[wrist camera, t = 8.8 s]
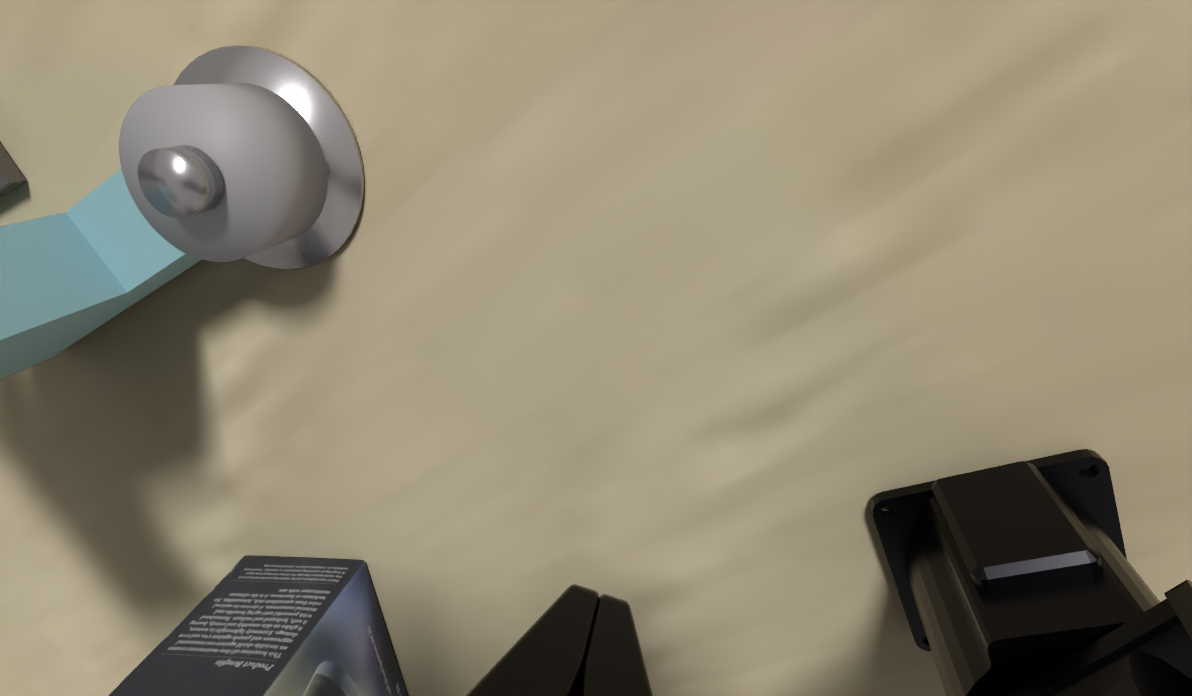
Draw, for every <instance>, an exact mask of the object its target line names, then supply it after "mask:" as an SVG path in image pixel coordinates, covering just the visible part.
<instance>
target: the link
mask: <svg viewBox="0 0 1192 696" xmlns="http://www.w3.org/2000/svg"><path fill="white" fill-rule="evenodd" d="M180 145H190V146H194V147H196V148H198V149H200V150H202V151H203V152H205V153H206V154H207V155H208V156H209V157H210V158H211V159H212V160H213V161H214V162H215V164H216V166H217V167H218V169H219V171H220V173H221V176H222V180H223V187H224V190H223V197H222V200H221V201H220V203H219V204H218V206H217V207H216V208H214V209H212V210H210V211H207V212H203V213H199V214H196V215H192V216H189V217H185V218H172V217H168V216H166V215H164V214H162V213H160V212H159V211H158V210H156V209H155V208H154V207H153V206H152V205H151V204H150V203H149V202H148V200H147V199H146V197H145V196H144V194H143V192H142V190H141V187H140V185H139V181H138V165H139V162H140V159H141V158H142V156H143V155H144V154H145V153H147V152H148V151H150V150H154V149H160V148H167V147H173V146H180ZM119 155H120V163H121V168H122V169H120V170H119V171H118V172H117V173H115V174H114V175H113V176H111V177H110V178H109V179H108V180H106V181H105V182H104V183H103V184H101V185H100V186H99V187H97V188H96V189H95V190H94V191H92V192H91V193H90V194H89V195H87V196H86V197H85V198H83V199H82V200H81V201H80V202H78V203H77V204H76V205H74V206H73V207H72V208H71V209H69V210H68V211H67V212H65V213H60V214H56V215H51V216H47V217H42V218H38V219H33V220H29V221H24V222H19V223H15V224H10V225H6V226H1V227H0V379H2V378H5V377H7V376H9V375H12V374H14V373H16V372H19V371H21V370H23V369H26V368H28V367H30V366H33V365H35V364H37V363H40V362H42V361H44V360H47V359H49V358H51V357H54V356H55V355H57V354H58V353H60V352H61V351H63V350H64V349H66V348H67V347H69V346H70V345H72V344H74V343H75V342H77V341H78V340H80V339H81V338H83V337H84V336H86V335H87V334H89V333H90V332H92V331H93V330H95V329H96V328H98V327H100V326H101V325H103V324H104V323H106V322H107V321H109V320H110V319H112V318H113V317H115V316H116V315H118V314H119V313H121V312H122V311H124V310H126V309H127V308H129V307H130V306H132V305H133V304H135V303H136V302H138V301H139V300H141V299H142V298H144V297H145V296H147V295H148V294H150V293H152V292H153V291H155V290H156V289H158V288H159V287H161V286H162V285H164V284H165V283H167V282H168V281H170V280H171V279H173V278H174V277H176V276H178V275H179V274H181V273H182V272H184V271H185V270H187V269H188V268H190V267H191V266H193V265H194V264H196V263H197V262H199V261H200V260H206V261H212V262H230V261H235V260H239V259H242V258H244V257H247V256H250V255H252V254H255V253H257V252H260V251H262V250H265V249H267V248H270V247H273V246H275V245H278V244H280V243H283V242H285V241H288V240H290V239H293V238H295V237H297V236H299V235H301V234H303V233H304V232H306V231H307V230H308V229H310V227H311V226H312V225H313V224H314V223H315V222H316V220H317V219H318V217H319V216H320V214H321V212H322V210H323V207H324V204H325V200H326V195H327V184H328V179H327V169H326V164H325V159H324V156H323V153H322V149H321V147H320V145H319V142H318V140H317V138H316V136H315V134H314V132H313V131H312V129H311V127H310V126H309V124H308V123H307V122H306V120H305V119H304V118H303V116H302V115H301V114H300V113H299V112H298V111H297V110H296V109H295V108H294V107H293V106H292V105H291V104H290V103H289V102H287V101H286V100H285V99H283V98H282V97H281V96H279V95H278V94H276V93H274V92H272V91H270V90H268V89H266V88H263V87H261V86H257V85H254V84H248V83H221V84H193V85H168V86H162V87H157V88H154V89H152V90H150V91H148V92H146V93H145V94H143V95H142V96H140V97H139V98H138V99H137V100H136V101H135V102H134V103H133V104H132V106H131V107H130V109H129V110H128V112H127V114H126V116H125V118H124V120H123V124H122V127H121V131H120V139H119Z"/></svg>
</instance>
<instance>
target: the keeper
mask: <svg viewBox="0 0 1192 696" xmlns="http://www.w3.org/2000/svg"><path fill="white" fill-rule="evenodd" d="M25 181H26V179H25V178H24V176H23V175H22V173H21V172H20V170H19V169H18V168H17V166H16V165H15V163H14V162H13V160H12V159H11V157H10V156H9V155H8V153H7V152H6V150H5V149H4V147H3V146H2V144H1V143H0V196H2V195H4V194H5V193H7V192H8V191H10V190H12V189H13V188H15V187H17V186H18V185H20V184H21V183H23V182H25Z"/></svg>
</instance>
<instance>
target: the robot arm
mask: <svg viewBox="0 0 1192 696" xmlns="http://www.w3.org/2000/svg"><path fill="white" fill-rule="evenodd" d="M1087 464H1092V466H1091V467H1090V468H1089V469H1087V470H1085V471H1079V469H1080V468H1081V467H1082V466H1084V465H1087ZM885 506H894V508H893V509H892V510H889V511H883V510H881V509H882V508H883V507H885ZM870 508H871V511H872V514H873V518H874V521H875V524H876V527H877V529H878V532H879V535H880V538H881V541H882V544H883V547H884V550H885V553H886V556H887V559H888V562H889V565H890V568H891V571H892V574H893V577H894V580H895V583H896V586H897V589H898V592H899V595H900V598H901V601H902V604H903V607H904V610H905V613H906V616H907V619H908V622H909V625H910V628H911V631H912V634H913V637H914V640H915V643H916V644H917V646H918V647H920V648H921V649H923V650H927V651H932V654H933V657H934V660H935V663H936V666H937V669H938V672H939V675H940V678H941V681H942V684H943V687H944V690H945V693H946V696H1192V582H1191V581H1189V580H1186V581H1184V582H1182V583H1181V584H1179V585H1177V586H1176V587H1174V588H1172V589H1171V590H1169V591H1167V592H1166V593H1164V594H1165V596H1166V598H1167V599H1165V600H1163V601H1162V602H1160V601H1159V600H1158V599H1157V597H1156V596H1155V595H1154V594H1153V592H1152V591H1151V590H1150V589H1149V587H1148V586H1147V585H1146V584H1145V582H1144V581H1143V580H1142V578H1141V577H1140V576H1139V575H1138V573H1137V572H1136V571H1135V570H1134V568H1133V567H1132V566H1131V564H1130V563H1129V562H1128V561H1127V558H1126V553H1125V548H1124V543H1123V538H1122V533H1121V528H1120V522H1119V517H1118V512H1117V507H1116V502H1115V497H1114V491H1113V486H1112V481H1111V476H1110V471H1109V467H1108V465H1107V463H1106V461H1105V460H1104V459H1103V458H1102V457H1101V456H1100V455H1099V454H1097V453H1096V452H1095V451H1092V450H1088V449H1084V450H1076V451H1071V452H1067V453H1062V454H1057V455H1053V456H1048V457H1043V458H1039V459H1034V460H1029V461H1025V462H1024V461H1021V462H1016V463H1012V464H1007V465H1002V466H998V467H993V468H988V469H984V470H979V471H974V472H970V473H965V474H960V475H956V476H951V477H946V478H942V479H938V480H936V481H931V482H926V483H922V484H917V485H912V486H908V487H903V488H898V489H894V490H889V491H884V492H881V493H878V494H876V495H875V496H874V497H873V498H872V500H871V502H870ZM466 696H653V695H652V691H651V687H650V683H649V680H648V676H647V672H646V668H645V664H644V660H643V656H642V652H641V648H640V644H639V640H638V636H637V632H636V628H635V624H634V620H633V616H632V612H631V609H630V606H629V604H628V603H627V602H626V601H624V600H621V599H618V598H615V597H612V596H609V595H606V594H603V595H601V596H600V597H599V594H598V593H597V592H596V591H594V590H591V589H588V588H585V587H582V586H579V585H571V586H570V587H569V588H568V589H567V590H566V591H565V592H564V593H563V594H562V595H561V596H560V597H559V598H558V599H557V600H556V601H555V602H554V603H553V605H552V606H551V607H550V608H549V609H548V610H547V611H546V612H545V613H544V614H543V615H542V616H541V617H540V618H539V619H538V620H537V621H536V622H535V624H534V625H533V626H532V627H531V628H530V629H529V630H528V631H527V632H526V633H525V634H524V635H523V636H522V637H521V638H520V639H519V640H518V641H517V643H516V644H515V645H514V646H513V647H512V648H511V649H510V650H509V651H508V652H507V653H506V654H505V655H504V656H503V657H502V658H501V659H500V660H499V662H498V663H497V664H496V665H495V666H494V667H493V668H492V669H491V670H490V671H489V672H488V673H487V674H486V675H485V676H484V677H483V678H482V679H481V681H480V682H479V683H478V684H477V685H476V686H475V687H474V688H473V689H472V690H471V691H470V692H469V693H468V694H467V695H466Z"/></svg>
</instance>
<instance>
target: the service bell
mask: <svg viewBox="0 0 1192 696" xmlns="http://www.w3.org/2000/svg"><path fill="white" fill-rule="evenodd" d="M221 83H248V84H254V85H257V86H261V87H263V88H266V89H268V90H270V91H272V92H274V93H276V94H278V95H279V96H281V97H282V98H283V99H285V100H286V101H287V102H289V103H290V104H291V105H292V106H293V107H294V108H295V109H296V110H297V111H298V112H299V113H300V114H301V115H302V116H303V118H304V119H305V120H306V122H307V123H308V124H309V126H310V127H311V129H312V131H313V132H314V134H315V136H316V138H317V140H318V142H319V145H320V147H321V149H322V153H323V156H324V159H325V164H326V169H327V179H328V184H327V195H326V200H325V204H324V207H323V210H322V212H321V214H320V216H319V217H318V219H317V220H316V222H315V223H314V224H313V225H312V226H311V227H310V229H308V230H307V231H306V232H304V233H303V234H301V235H299V236H297V237H295V238H293V239H290V240H288V241H285V242H283V243H280V244H278V245H275V246H273V247H270V248H267V249H265V250H262V251H260V252H257V253H255V254H252V255H250V256H247V257H244V258H245V259H247V260H249V261H251V262H254V263H257V264H259V265H263V266H267V267H271V268H279V269H297V268H302V267H307V266H310V265H313V264H316V263H318V262H320V261H322V260H324V259H326V258H328V257H330V256H331V255H332V254H334V253H335V252H336V251H337V250H339V249H340V248H341V247H342V246H343V244H344V243H345V242H346V241H347V240H348V238H349V237H350V235H351V234H352V232H353V231H354V228H355V226H356V224H357V222H358V220H359V216H360V213H361V209H362V205H363V198H364V171H363V163H362V158H361V154H360V149H359V146H358V143H357V140H356V137H355V134H354V132H353V130H352V128H351V126H350V124H349V121H348V119H347V118H346V116H345V114H344V113H343V111H342V109H341V107H340V106H339V104H338V103H337V102H336V100H335V99H334V98H333V96H332V95H331V94H330V92H329V91H328V90H327V89H326V88H325V87H324V86H323V85H322V84H321V83H320V82H319V81H318V80H317V79H316V78H315V77H314V76H313V75H312V74H310V73H309V72H308V71H307V70H306V69H304V68H303V67H301V66H300V65H298V64H297V63H295V62H294V61H292V60H290V59H288V58H286V57H284V56H282V55H280V54H278V53H275V52H272V51H269V50H267V49H262V48H257V47H250V46H229V47H221V48H218V49H215V50H211V51H209V52H207V53H205V54H203V55H201V56H199V57H198V58H196V59H195V60H194V61H193V62H191V63H190V64H189V65H188V66H187V67H186V68H185V69H184V70H183V71H182V73H181V74H180V75H179V77H178V79H177V80H176V82H175V83H174V85H193V84H221ZM138 181H139V185H140V187H141V190H142V192H143V194H144V196H145V197H146V199H147V200H148V202H149V203H150V204H151V205H152V206H153V207H154V208H155V209H156V210H158V211H159V212H160V213H162V214H164V215H166V216H168V217H172V218H185V217H189V216H192V215H196V214H199V213H203V212H207V211H210V210H212V209H214V208H216V207H217V206H218V204H219V203H220V201H221V200H222V197H223V190H224V187H223V180H222V176H221V173H220V171H219V169H218V167H217V166H216V164H215V162H214V161H213V160H212V159H211V158H210V157H209V156H208V155H207V154H206V153H205V152H203V151H202V150H200V149H198V148H196V147H194V146H190V145H180V146H173V147H167V148H160V149H154V150H150V151H148V152H147V153H145V154H144V155H143V156H142V158H141V159H140V162H139V165H138Z"/></svg>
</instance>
